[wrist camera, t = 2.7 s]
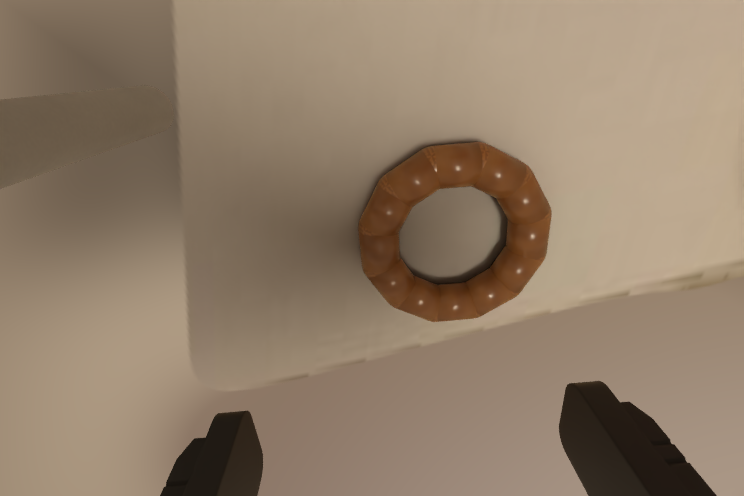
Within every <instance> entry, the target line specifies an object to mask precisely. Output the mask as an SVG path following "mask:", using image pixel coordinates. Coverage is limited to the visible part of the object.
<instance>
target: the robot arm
mask: <svg viewBox="0 0 744 496" xmlns="http://www.w3.org/2000/svg"><path fill="white" fill-rule="evenodd" d="M559 433H560V438H561V442H562V445H563V448H564V450H565V452H566V454H567V456H568V458H569V460H570V461H571V464H572V466H573V467H574V469H575V471H576V473H577V475H578V477H579V479H580V480H581V482H582V484H583V486H584V488H585V490H586V492H587V494H588V495H589V496H716V494H715V493H714V492H713V491H712V490H711V488H710V487H709V486H708V485H707V484H706V482H705V481H704V480H703V479H702V478H701V476H700V475H699V474H698V473H697V472H696V470H695V469H694V468H693V467H692V466H691V464H690V463H687V462H686V460H685V457H684V456H683V455H682V453H681V452H680V451H679V450H678V449H677V448H676V446H675V445H673V444H671V442H670V439H669V438H668V437H667V435H666V434H665V433H664V432H663V431H662V429H661V428H660V427H659V426H658V425H657V423H656V422H655V421H654V420H653V419H652V418H651V417H650V416H648V415H647V414H645V413H644V412H643V411H641V410H640V409H638V408H637V407H636V406H634V405H633V404H632V403H630V402H621V403H620V402H619V401H618V399H617V398H616V397H615V395H614V394H613V393H612V392H611V390H610V389H609V388H608V387H607V385H606V384H604V383H603V382H601V381H594V382H582V383H571V384H568V385H567V387H566V390H565V396H564V401H563V407H562V413H561V418H560V423H559ZM262 470H263V454H262V449H261V446H260V442H259V439H258V436H257V433H256V429H255V426H254V423H253V420H252V417H251V414H250V412H249V411H240V412H229V413H218V414H217V415H216V416H215V417H214V419H213V421H212V424H211V426H210V428H209V431H208V434H207V436H206V438H196V439H194V440H193V441H192V442H191V443H190V444H189V445H188V447H187V448H186V449H185V450H184V451H183V453H182V454H181V455H180V456H179V457H178V458H177V460H176V462H175V464H174V466H173V469H172V471H171V473H170V476H169V477H168V480H167V482H166V487H164V488H163V491H162V493H161V495H160V496H257V494H258V490H259V486H260V481H261V477H262Z"/></svg>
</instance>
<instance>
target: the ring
mask: <svg viewBox="0 0 744 496" xmlns="http://www.w3.org/2000/svg"><path fill="white" fill-rule="evenodd" d="M466 186H472V187H474V188H476V189H478V190H480V191H483V192H485V193H487V194H489V195H491V196H493V197H495V198H496V199H497V201H498V203H499V204H500V206H501V208H502V210H503V211H504V213H505V215H506V217H507V218H508V224H507V237H506V245H505V247H504V248H503V250H502V251H501V253H500V254H499V255H498V257H497V258H496V260H495V261H494V263H493V264H492V266H491V267H490V268H489V269H487V270H486V271H484V272H482V273H480V274H479V275H477V276H475V277H474V278H472V279H470V280H468V281H467V282H464V283H453V284H442V285H436V284H433V283H431V282H429V281H426V280H424V279H421V278H419V277H416V276H414V275H413V274H412V273H411V271H410V270H409V269H408V267H407V266H406V264H405V263H404V262H403V260H402V259H401V258H400V250H399V231H400V229H401V227H402V225H403V223H404V221H405V220H406V218H407V216H408V214H409V212H410V210H411V209H412V207H413V206H414V205H416V204H417V203H419V202H420V201H422V200H424V199H425V198H427V197H428V196H430V195H431V194H433V193H434V192H436V191H437V190H439V189H444V188H455V187H466ZM550 222H551V208H550V205H549V203H548V201H547V199H546V197H545V195H544V193H543V191H542V189H541V187H540V185H539V184H538V182H537V180H536V178H535V176H534V174H533V172H532V170H531V169H530V167H529V166H528V165H526V164H525V163H523V162H521V161H519V160H517V159H515V158H513V157H511V156H509V155H507V154H505V153H504V152H502V151H500V150H498V149H496V148H494V147H492V146H490V145H488V144H486V143H482V142H471V143H460V144H449V145H437V146H429V147H426V148H424V149H422V150H420V151H419V152H417V153H416V154H415V155H413V156H412V157H410V158H409V159H407V160H406V161H404V162H403V163H401V164H400V165H398V166H397V167H395V168H394V169H393V170H391V171H390V172H388V173H387V174H385V175H384V176H383V177H382V178H381V179H380V180H379V182H378V184H377V186H376V188H375V190H374V192H373V194H372V196H371V198H370V200H369V202H368V204H367V206H366V208H365V210H364V212H363V215H362V217H361V219H360V221H359V225H358V231H359V241H360V251H361V260H362V268H363V271H364V273H365V275H366V276H367V277H368V279H369V280H370V281H371V282H372V284H373V285H374V286H375V287H376V288H377V290H378V291H379V292H380V293H381V295H382V296H383V297H384V298H385V300H386V301H387V302H388V303H389V304H390V305H391V306H393V307H394V308H397V309H399V310H402V311H405V312H407V313H410V314H413V315H415V316H418V317H420V318H423V319H426V320H428V321H432V322H439V321H450V320H461V319H472V318H478V317H480V316H482V315H484V314H486V313H488V312H489V311H491V310H493V309H495V308H497V307H498V306H500V305H502V304H504V303H506V302H507V301H509V300H511V299H513V298H515V297H516V296H517V295H518V294H519V293H520V292H521V291H522V290H523V288H524V287H525V285H526V284H527V283H528V281H529V280H530V279H531V277H532V276H533V275H534V273H535V272H536V270H537V269H538V268H539V266H540V265H541V264H542V262H543V261H544V259H545V257H546V253H547V245H548V238H549V230H550Z"/></svg>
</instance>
